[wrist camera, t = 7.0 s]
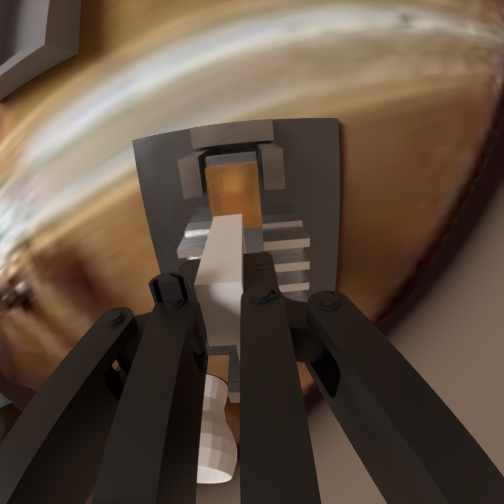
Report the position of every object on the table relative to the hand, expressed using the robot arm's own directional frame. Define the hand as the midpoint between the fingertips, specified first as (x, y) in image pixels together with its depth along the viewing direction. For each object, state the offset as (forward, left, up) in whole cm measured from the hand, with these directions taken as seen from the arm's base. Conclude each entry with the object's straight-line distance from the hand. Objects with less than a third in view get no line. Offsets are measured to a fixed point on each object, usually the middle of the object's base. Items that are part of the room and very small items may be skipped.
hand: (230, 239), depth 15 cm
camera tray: (-22, +28, -11) cm, 37 cm away
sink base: (0, -7, -11) cm, 13 cm away
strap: (0, -7, -5) cm, 9 cm away
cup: (-9, -29, -11) cm, 32 cm away
